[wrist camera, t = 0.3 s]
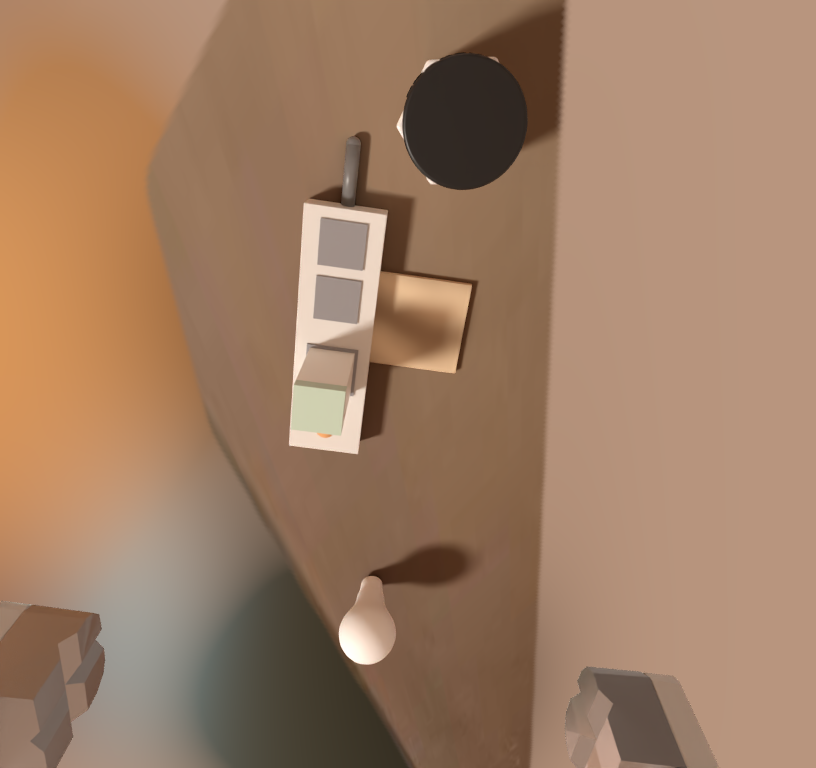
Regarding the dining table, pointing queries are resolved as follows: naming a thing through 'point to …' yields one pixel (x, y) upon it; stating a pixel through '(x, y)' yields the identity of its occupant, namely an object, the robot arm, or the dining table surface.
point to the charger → (322, 391)
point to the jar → (464, 121)
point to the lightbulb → (368, 625)
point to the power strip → (339, 294)
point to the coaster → (419, 322)
